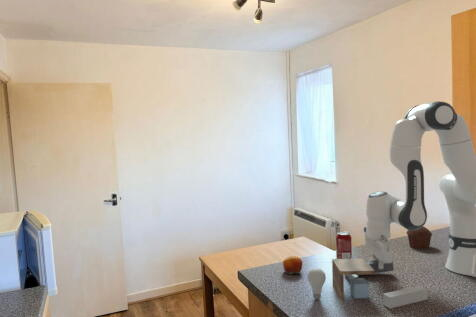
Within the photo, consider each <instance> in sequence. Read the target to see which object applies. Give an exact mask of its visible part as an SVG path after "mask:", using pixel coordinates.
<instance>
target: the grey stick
mask: <svg viewBox="0 0 476 317" xmlns="http://www.w3.org/2000/svg"><path fill="white" fill-rule="evenodd" d="M426 300H428V288H426V287H424V286H423V285H415V286H411V287H410V286H409V287H407V288H402V289H397V290H394V291H390V292H389V291H388V292H385V293H382V303H383V304H382V305H383V306H385V307H387V308H388V309H394V308H398V307H401V306H406V305H411V304H414V303H418V302H423V301H426Z"/></svg>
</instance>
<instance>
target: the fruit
mask: <svg viewBox="0 0 476 317" xmlns="http://www.w3.org/2000/svg"><path fill="white" fill-rule="evenodd" d="M282 265H283V269H284V271H285V273H286V274H289V275H290V276H292V275H293V274H297V275H298V274H299V275H301V271H302V268H303V259H302V258H301V257H298V256H295V255H294V256H293V255H291V256H288V257H286V258H285V259H283V262H282Z"/></svg>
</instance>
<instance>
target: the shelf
mask: <svg viewBox="0 0 476 317" xmlns="http://www.w3.org/2000/svg"><path fill="white" fill-rule="evenodd" d="M331 260H332V261H331V264H332V265H331V266H332V267H331V268H332V269H331V270H332V271H331V273H332V274H331V275H332V287H333V289H334V290H335V293H336V294H337V296H338V298H339V299H340V301H345V292H344V291H345V290H344V289H345V285H344V284H345V283H344V282H345V280H344V278H345V275H353V274H366V275H375V274H376V273H375V270H374V269H373V268H372V267H371V266H370V265H369V264H368V263H367V260H365V259H364V258H355V259H353V258H351V259H338V258H332V259H331Z"/></svg>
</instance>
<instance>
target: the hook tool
mask: <svg viewBox="0 0 476 317" xmlns="http://www.w3.org/2000/svg"><path fill="white" fill-rule="evenodd" d="M366 262H367V263H368V264H369V265H370V266H371V267H372V268H373V269H374V270H375V274H379V273H386V272H387V273H388V272H394V261H392V263H384V265H383V269H379V268H378V263H379V261H378V260H368V261H367V260H366ZM365 275H367V274H353V275H344V277H346V278H347V279H348V281H349V282H350V279H358V278H359V276H365Z"/></svg>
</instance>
